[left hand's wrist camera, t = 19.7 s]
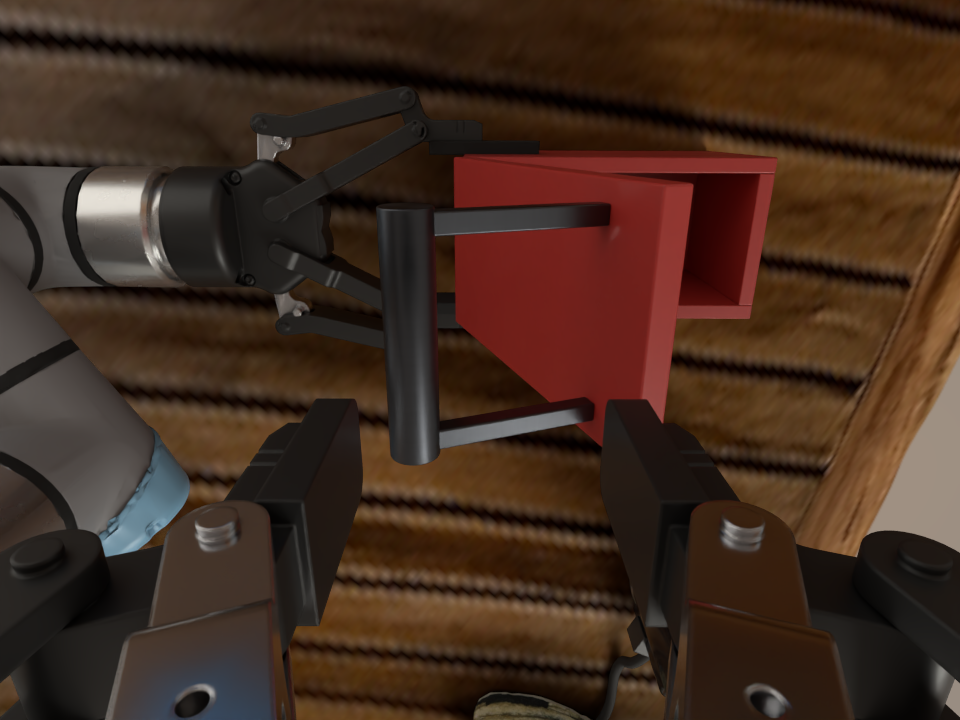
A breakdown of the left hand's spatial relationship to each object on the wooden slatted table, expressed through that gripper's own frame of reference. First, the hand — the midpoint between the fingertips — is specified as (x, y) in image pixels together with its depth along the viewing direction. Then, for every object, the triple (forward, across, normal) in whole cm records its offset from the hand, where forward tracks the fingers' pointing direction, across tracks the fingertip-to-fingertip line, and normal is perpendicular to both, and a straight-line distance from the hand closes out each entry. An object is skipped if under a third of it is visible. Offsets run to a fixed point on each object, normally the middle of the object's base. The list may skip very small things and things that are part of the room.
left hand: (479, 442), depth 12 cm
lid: (+15, -3, 0) cm, 15 cm away
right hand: (+28, -4, 0) cm, 28 cm away
